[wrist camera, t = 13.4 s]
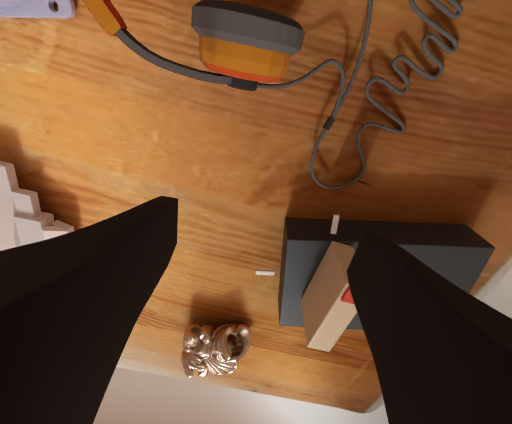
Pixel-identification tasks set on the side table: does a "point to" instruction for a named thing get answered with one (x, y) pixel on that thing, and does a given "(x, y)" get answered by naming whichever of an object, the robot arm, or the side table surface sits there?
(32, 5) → the robot arm
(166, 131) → the side table surface
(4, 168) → the toy rocket
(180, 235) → the side table surface
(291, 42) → the headphones
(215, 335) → the ornament
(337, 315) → the handle
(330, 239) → the panel
